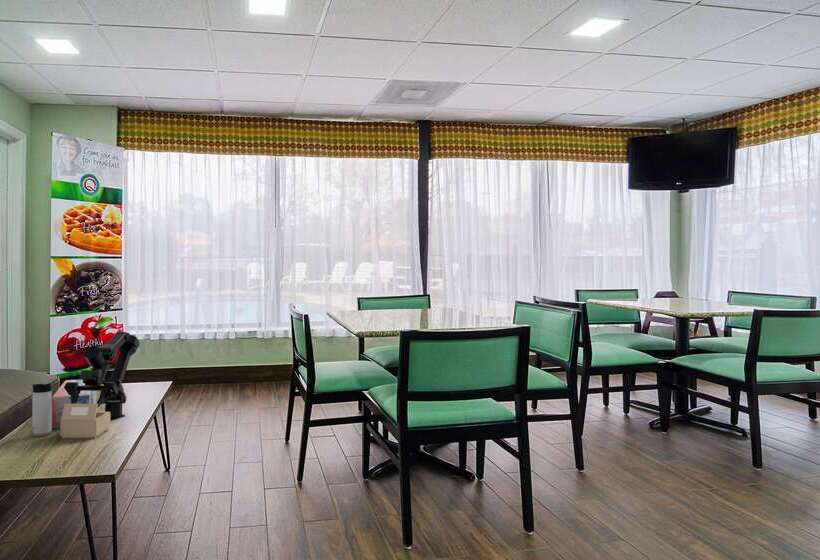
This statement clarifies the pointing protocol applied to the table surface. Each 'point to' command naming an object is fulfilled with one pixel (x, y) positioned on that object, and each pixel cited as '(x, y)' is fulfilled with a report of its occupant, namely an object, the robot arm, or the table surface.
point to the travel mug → (42, 410)
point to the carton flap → (79, 412)
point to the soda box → (69, 401)
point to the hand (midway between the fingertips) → (84, 407)
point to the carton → (85, 426)
